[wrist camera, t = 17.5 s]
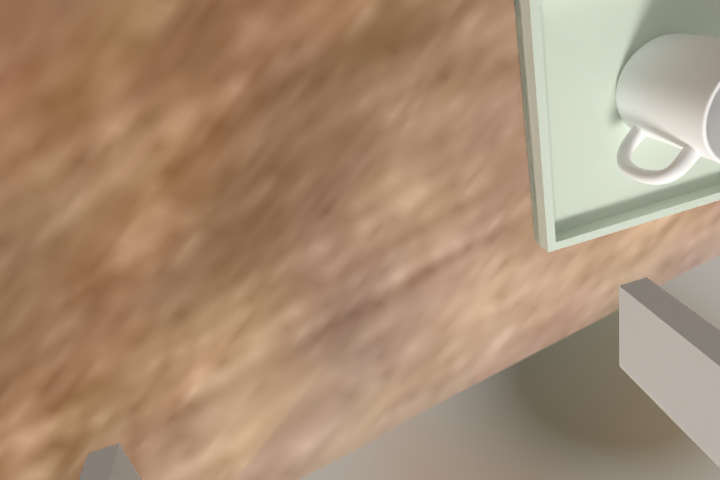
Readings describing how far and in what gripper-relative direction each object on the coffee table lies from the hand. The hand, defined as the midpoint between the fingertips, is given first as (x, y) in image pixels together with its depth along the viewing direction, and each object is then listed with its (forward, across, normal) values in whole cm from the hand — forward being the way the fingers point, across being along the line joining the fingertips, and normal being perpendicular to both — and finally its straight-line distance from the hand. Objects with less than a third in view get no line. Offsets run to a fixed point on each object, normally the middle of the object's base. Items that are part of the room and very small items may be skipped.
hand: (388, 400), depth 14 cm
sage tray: (+32, +29, -6) cm, 43 cm away
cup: (+31, +29, -6) cm, 43 cm away
